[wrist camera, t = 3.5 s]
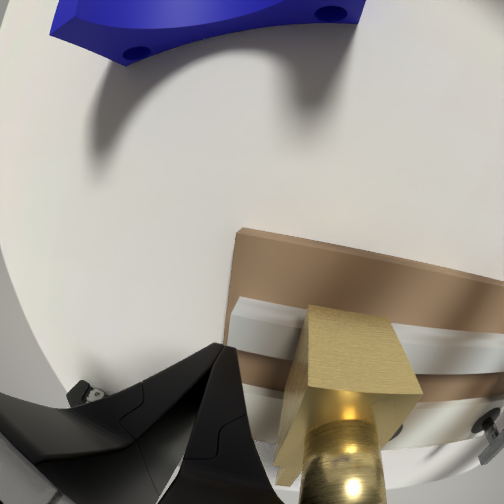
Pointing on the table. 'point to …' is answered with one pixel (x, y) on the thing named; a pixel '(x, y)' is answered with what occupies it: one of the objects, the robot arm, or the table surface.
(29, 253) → the table surface
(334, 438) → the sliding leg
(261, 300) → the board
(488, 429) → the fixed leg
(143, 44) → the cable clip
